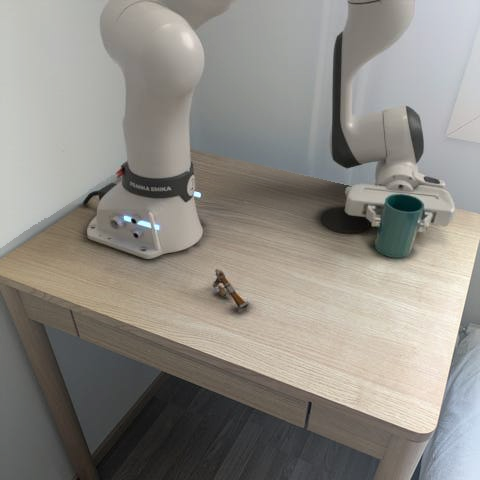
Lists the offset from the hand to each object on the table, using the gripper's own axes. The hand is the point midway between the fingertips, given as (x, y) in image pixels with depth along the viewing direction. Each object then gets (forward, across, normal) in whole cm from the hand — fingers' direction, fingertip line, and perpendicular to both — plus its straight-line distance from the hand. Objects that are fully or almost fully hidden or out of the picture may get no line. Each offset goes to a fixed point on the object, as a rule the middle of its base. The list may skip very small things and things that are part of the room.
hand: (399, 226), depth 90 cm
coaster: (-9, -10, +5) cm, 14 cm away
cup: (-1, 0, +5) cm, 5 cm away
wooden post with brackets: (+22, -27, +6) cm, 35 cm away
